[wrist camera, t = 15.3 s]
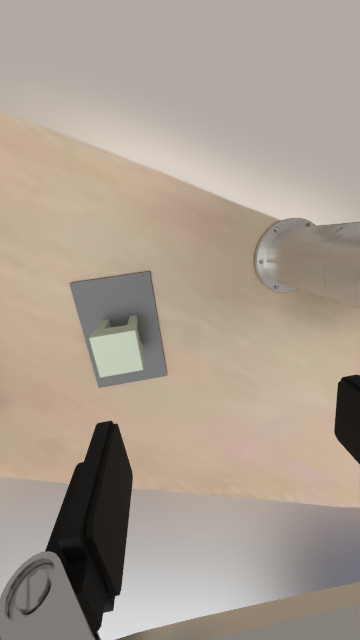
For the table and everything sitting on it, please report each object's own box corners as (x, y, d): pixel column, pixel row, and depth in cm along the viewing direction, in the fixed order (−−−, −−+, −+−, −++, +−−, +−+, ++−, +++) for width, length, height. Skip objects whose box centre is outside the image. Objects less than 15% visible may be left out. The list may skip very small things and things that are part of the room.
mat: (149, 271, 40) (149, 271, 40) (166, 373, 47) (167, 375, 46) (70, 282, 39) (69, 283, 39) (99, 386, 46) (98, 387, 45)
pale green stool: (137, 313, 42) (135, 330, 34) (144, 346, 44) (143, 369, 36) (100, 319, 41) (89, 338, 33) (108, 352, 43) (100, 377, 35)
